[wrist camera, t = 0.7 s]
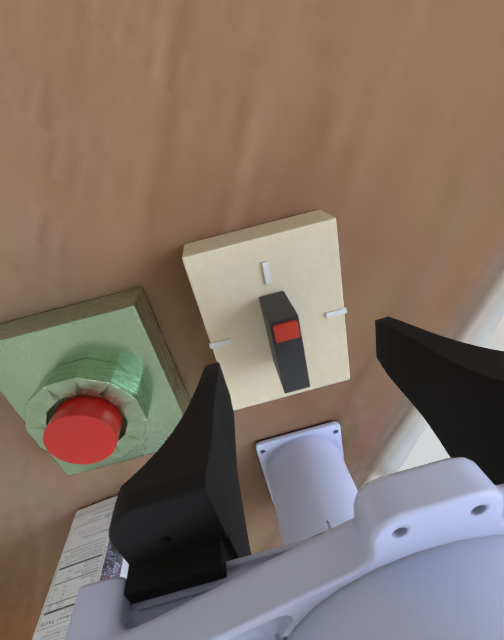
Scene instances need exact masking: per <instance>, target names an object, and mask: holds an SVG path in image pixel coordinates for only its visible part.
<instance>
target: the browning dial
mask: <svg viewBox="0 0 504 640" xmlns="http://www.w3.org/2000/svg"><path fill="white" fill-rule="evenodd" d="M259 301H260V306H261V310H262V314H263V318H264V323H265V327H266V331H267V336H268V340H269V344H270V349H271V353H272V357H273V362H274V364H275V367H276V370H277V373H278V376H279V379H280V382H281V384H282V387H283V390H284V393H285V394H286V393H289V392H293V391H297V390H300V389H304V388H308V387H310V381H309V375H308V369H307V363H306V357H305V351H304V345H303V340H302V334H301V328H300V322H299V316H298V314H297V312H296V311H295V309H294V307H293V306H292V304H291V302H290V301H289V299H288V297H287V296H286V294H285V292H284V291H280V292H277V293H273V294H269V295H265V296H261V297H259Z"/></svg>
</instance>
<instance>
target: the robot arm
mask: <svg viewBox="0 0 504 640" xmlns="http://www.w3.org/2000/svg"><path fill="white" fill-rule="evenodd" d="M375 326H376V353H377V358H378V360H379V362H380V363H381V365H382V367H383V368H384V370H385V371H386V373H387V374H388V376H389V377H390V378H391V379H392V380H393V382H394V383H395V384H396V385H397V386H398V387H399V389H400V390H401V391H402V392H403V393H404V394H405V396H406V397H407V398H408V399H409V400H410V401H411V403H412V404H413V405H414V406H415V407H416V408H417V410H418V411H419V412H420V413H421V415H422V416H423V417H424V418H425V420H426V421H427V423H428V424H429V425H430V427H431V428H432V430H433V431H434V433H435V434H436V436H437V437H438V439H439V440H440V442H441V443H442V445H443V446H444V448H445V450H446V451H447V453H448V454H449V456H450V457H451V458H447V459H444V460H440V461H436V462H432V463H429V464H425V465H422V466H418V467H414V468H411V469H407V470H404V471H400V472H396V473H393V474H389V475H386V476H382V477H379V478H377V479H375V480H373V481H371V482H368V483H367V484H366V485H365V486H364V487H362V488H361V489H360V490H359V491H358V490H357V488H356V486H355V484H354V482H353V480H352V477H351V475H350V473H349V471H348V469H347V467H346V464H345V462H344V456H343V447H342V439H341V431H340V425H339V423H338V422H336V421H333V422H329V423H326V424H322V425H318V426H315V427H311V428H307V429H304V430H300V431H296V432H293V433H289V434H285V435H282V436H278V437H274V438H271V439H267V440H263V441H260V442H258V443H256V445H255V446H256V451H257V454H258V457H259V460H260V463H261V467H262V470H263V473H264V476H265V479H266V482H267V486H268V489H269V492H270V495H271V498H272V501H273V504H274V505H275V510H276V515H277V519H278V524H279V529H280V534H281V538H282V543H283V546H280V547H276V548H272V549H269V550H265V551H262V552H258V553H255V554H251V552H250V546H249V540H248V535H247V529H246V523H245V517H244V511H243V505H242V499H241V492H240V486H239V479H238V473H237V463H236V444H235V424H234V413H233V407H232V402H231V396H230V393H229V390H228V387H227V384H226V381H225V378H224V375H223V372H222V369H221V366H220V363H219V362H217V363H214V364H210V365H206V366H205V368H204V370H203V373H202V376H201V378H200V381H199V383H198V386H197V388H196V390H195V393H194V395H193V397H192V399H191V401H190V403H189V405H188V407H187V409H186V411H185V413H184V414H183V416H182V418H181V419H180V421H179V423H178V424H177V426H176V427H175V429H174V430H173V432H172V433H171V435H170V436H169V437H168V438H167V440H166V441H165V442H164V444H163V445H162V446H161V447H160V449H159V450H158V451H157V452H156V453H155V454H154V455H153V456H152V458H151V459H150V460H149V461H148V462H147V463H146V464H145V465H144V466H143V467H142V468H141V469H140V470H139V471H138V472H137V473H136V474H134V475H133V476H132V477H131V478H130V479H129V480H128V481H127V482H126V483H125V484H123V485H122V486H121V488H120V491H119V494H118V496H117V499H116V503H115V506H114V510H113V514H112V518H111V522H110V527H109V539H110V541H111V543H112V545H113V546H114V547H115V548H116V549H117V551H118V552H119V553H120V554H121V556H122V557H123V558H124V559H125V561H126V562H127V563H128V564H129V568H128V573H127V579H126V578H124V577H112V578H109V579H105V580H102V581H98V582H94V583H91V584H87V585H84V586H82V587H80V588H79V590H78V594H77V597H76V601H75V605H74V608H73V612H72V616H71V619H70V623H69V626H68V630H67V634H66V637H65V640H504V351H498V350H492V349H487V348H483V347H479V346H474V345H470V344H466V343H463V342H459V341H456V340H452V339H449V338H446V337H443V336H440V335H437V334H434V333H431V332H428V331H426V330H423V329H420V328H418V327H415V326H413V325H410V324H407V323H405V322H402V321H399V320H397V319H394V318H391V317H386V318H382V319H378V320H375Z"/></svg>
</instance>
